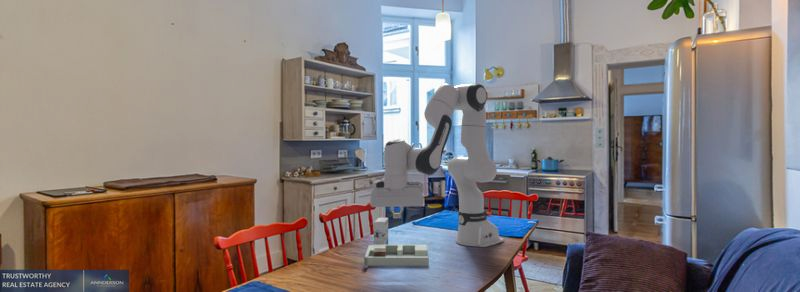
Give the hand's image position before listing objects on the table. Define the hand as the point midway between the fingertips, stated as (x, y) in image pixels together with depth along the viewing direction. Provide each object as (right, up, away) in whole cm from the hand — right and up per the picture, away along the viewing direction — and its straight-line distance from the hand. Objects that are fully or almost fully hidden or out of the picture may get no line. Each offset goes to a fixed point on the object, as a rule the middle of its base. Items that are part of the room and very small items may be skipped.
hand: (397, 217), depth 149 cm
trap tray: (0, -18, +4) cm, 18 cm away
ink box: (-7, -17, +24) cm, 31 cm away
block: (-7, -17, 0) cm, 18 cm away
